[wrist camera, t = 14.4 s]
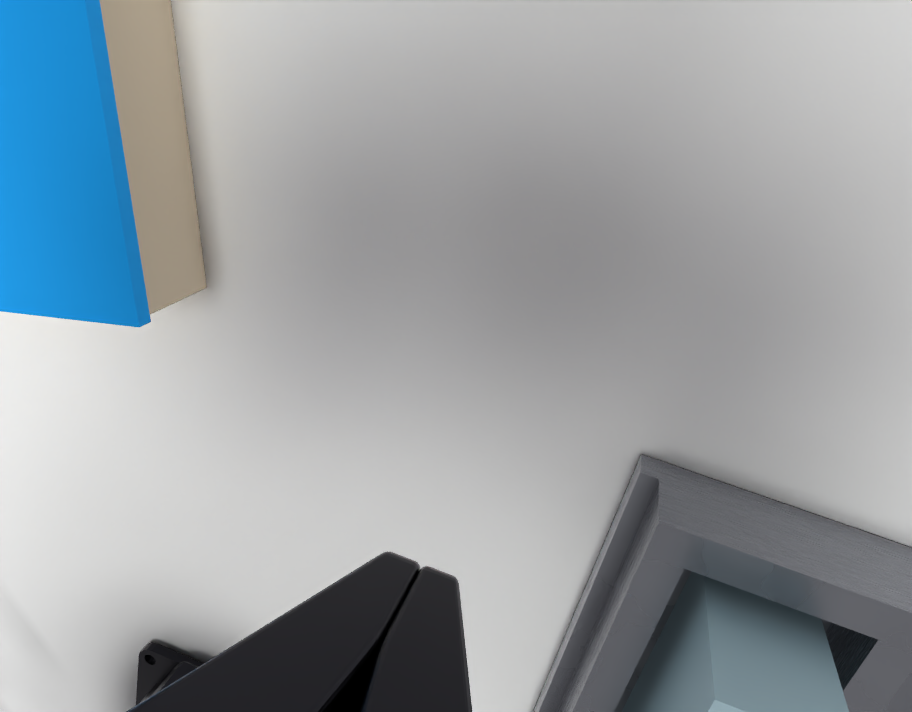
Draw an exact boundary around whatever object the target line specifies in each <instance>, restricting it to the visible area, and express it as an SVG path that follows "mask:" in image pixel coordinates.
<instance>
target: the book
mask: <svg viewBox="0 0 912 712" xmlns="http://www.w3.org/2000/svg"><path fill="white" fill-rule="evenodd" d="M205 288H207V285H206V277H205V270H204V262H203V254H202V246H201V238H200V230H199V222H198V214H197V206H196V198H195V190H194V182H193V174H192V166H191V158H190V150H189V142H188V134H187V126H186V118H185V110H184V102H183V94H182V86H181V79H180V71H179V63H178V55H177V47H176V39H175V31H174V23H173V15H172V7H171V0H0V311H3V312H12V313H21V314H29V315H38V316H46V317H55V318H64V319H72V320H81V321H89V322H98V323H107V324H115V325H124V326H133V327H141V326H143V325H145V324H147V323H149V322H151V319H150V314H152V313H154V312H156V311H158V310H161V309H163V308H165V307H167V306H169V305H171V304H173V303H175V302H178V301H180V300H182V299H184V298H186V297H188V296H190V295H192V294H195V293H197V292H199V291H201V290H203V289H205Z"/></svg>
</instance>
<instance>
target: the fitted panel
mask: <svg viewBox="0 0 912 712" xmlns="http://www.w3.org/2000/svg"><path fill="white" fill-rule="evenodd" d="M622 712H849V710H848V706H847V703H846V700H845V696H844V693H843V690H842V686H841V683H840V680H839V676H838V673H837V670H836V666H835V663H834V660H833V656H832V653H831V650H830V646H829V643H828V640H827V636H826V633H825V630H824V626H823V623H822V620H821V619H820V618H818V617H815V616H812V615H810V614H807V613H804V612H801V611H799V610H796V609H793V608H790V607H788V606H785V605H782V604H780V603H777V602H774V601H771V600H769V599H766V598H763V597H761V596H758V595H755V594H752V593H750V592H747V591H744V590H741V589H739V588H736V587H733V586H731V585H728V584H725V583H722V582H720V581H717V580H714V579H711V578H709V577H706V576H703V575H701V574H698V573H695V572H691V574H690V576H689V578H688V580H687V582H686V584H685V586H684V588H683V590H682V592H681V594H680V596H679V598H678V600H677V602H676V604H675V606H674V608H673V610H672V612H671V614H670V616H669V618H668V620H667V622H666V624H665V626H664V628H663V630H662V632H661V634H660V636H659V638H658V640H657V642H656V644H655V646H654V648H653V650H652V652H651V654H650V656H649V658H648V660H647V662H646V664H645V666H644V668H643V670H642V672H641V674H640V676H639V678H638V680H637V682H636V684H635V686H634V688H633V690H632V692H631V694H630V696H629V698H628V700H627V702H626V704H625V706H624V708H623V710H622Z"/></svg>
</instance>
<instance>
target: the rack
mask: <svg viewBox="0 0 912 712" xmlns="http://www.w3.org/2000/svg"><path fill="white" fill-rule="evenodd" d="M691 572H695V573H698V574H701V575H703V576H706V577H709V578H711V579H714V580H717V581H720V582H722V583H725V584H728V585H731V586H733V587H736V588H739V589H741V590H744V591H747V592H750V593H752V594H755V595H758V596H761V597H763V598H766V599H769V600H771V601H774V602H777V603H780V604H782V605H785V606H788V607H790V608H793V609H796V610H799V611H801V612H804V613H807V614H810V615H812V616H815V617H818V618H820V619H821V620H822V623H823V626H824V630H825V633H826V636H827V640H828V643H829V646H830V650H831V653H832V656H833V660H834V663H835V666H836V670H837V673H838V676H839V680H840V683H841V686H842V690H843V693H844V696H845V700H846V703H847V706H848V710H849V712H912V548H911V547H908V546H905V545H902V544H899V543H897V542H894V541H891V540H888V539H885V538H882V537H879V536H876V535H873V534H871V533H868V532H865V531H862V530H859V529H856V528H853V527H850V526H847V525H845V524H842V523H839V522H836V521H833V520H830V519H827V518H824V517H821V516H819V515H816V514H813V513H810V512H807V511H804V510H801V509H798V508H795V507H793V506H790V505H787V504H784V503H781V502H778V501H775V500H772V499H769V498H767V497H764V496H761V495H758V494H755V493H752V492H749V491H746V490H743V489H740V488H738V487H735V486H732V485H729V484H726V483H723V482H720V481H717V480H714V479H712V478H709V477H706V476H703V475H700V474H697V473H694V472H691V471H688V470H686V469H683V468H680V467H677V466H674V465H671V464H668V463H665V462H662V461H660V460H657V459H654V458H651V457H648V456H645V455H642V454H641V456H640V458H639V461H638V463H637V465H636V468H635V470H634V473H633V475H632V477H631V480H630V482H629V484H628V487H627V489H626V492H625V494H624V496H623V499H622V501H621V504H620V506H619V508H618V511H617V513H616V515H615V518H614V520H613V523H612V525H611V527H610V530H609V532H608V534H607V537H606V539H605V542H604V544H603V546H602V549H601V551H600V554H599V556H598V558H597V561H596V563H595V565H594V568H593V570H592V573H591V575H590V577H589V580H588V582H587V584H586V587H585V589H584V592H583V594H582V596H581V599H580V601H579V604H578V606H577V608H576V611H575V613H574V615H573V618H572V620H571V623H570V625H569V627H568V630H567V632H566V634H565V637H564V639H563V642H562V644H561V646H560V649H559V651H558V653H557V656H556V658H555V661H554V663H553V665H552V668H551V670H550V673H549V675H548V677H547V680H546V682H545V684H544V687H543V689H542V692H541V694H540V696H539V699H538V701H537V703H536V706H535V708H534V711H533V712H622V710H623V708H624V706H625V704H626V702H627V700H628V698H629V696H630V694H631V692H632V690H633V688H634V686H635V684H636V682H637V680H638V678H639V676H640V674H641V672H642V670H643V668H644V666H645V664H646V662H647V660H648V658H649V656H650V654H651V652H652V650H653V648H654V646H655V644H656V642H657V640H658V638H659V636H660V634H661V632H662V630H663V628H664V626H665V624H666V622H667V620H668V618H669V616H670V614H671V612H672V610H673V608H674V606H675V604H676V602H677V600H678V598H679V596H680V594H681V592H682V590H683V588H684V586H685V584H686V582H687V580H688V578H689V576H690V574H691Z"/></svg>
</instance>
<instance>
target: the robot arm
mask: <svg viewBox="0 0 912 712" xmlns="http://www.w3.org/2000/svg"><path fill="white" fill-rule="evenodd" d="M126 712H472V706H471V696H470V686H469V677H468V667H467V658H466V648H465V639H464V629H463V620H462V610H461V600H460V591H459V583H458V580H457V579H456V578H455V577H454V576H452V575H450V574H447V573H445V572H442V571H439V570H437V569H434V568H432V567H429V566H425V567H423V568H422V569H420V566H419V564H418V563H417V562H416V561H413V560H411V559H408V558H406V557H403V556H400V555H398V554H395V553H393V552H384V553H382V554H380V555H379V556H377V557H375V558H374V559H372V560H371V561H369V562H367V563H366V564H364V565H362V566H361V567H359V568H358V569H356V570H354V571H353V572H351V573H350V574H348V575H346V576H345V577H343V578H341V579H340V580H338V581H337V582H335V583H333V584H332V585H330V586H328V587H327V588H325V589H324V590H322V591H320V592H319V593H317V594H316V595H314V596H312V597H311V598H309V599H307V600H306V601H304V602H303V603H301V604H299V605H298V606H296V607H295V608H293V609H291V610H290V611H288V612H286V613H285V614H283V615H282V616H280V617H278V618H277V619H275V620H274V621H272V622H270V623H269V624H267V625H265V626H264V627H262V628H261V629H259V630H257V631H256V632H254V633H253V634H251V635H249V636H248V637H246V638H244V639H243V640H241V641H240V642H238V643H236V644H235V645H233V646H232V647H230V648H228V649H227V650H225V651H223V652H222V653H220V654H219V655H217V656H215V657H214V658H212V659H211V660H209V661H207V662H206V663H202V662H199V661H197V660H195V659H192V658H190V657H188V656H185V655H183V654H181V653H178V652H176V651H174V650H171V649H169V648H167V647H164V646H162V645H160V644H157V643H154V642H151V643H148V644H147V645H146V646H145V647H144V648H143V649H142V650H141V651H140V654H139V664H138V680H137V697H136V706H135V707H133V708H131V709H130V710H128V711H126Z"/></svg>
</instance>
